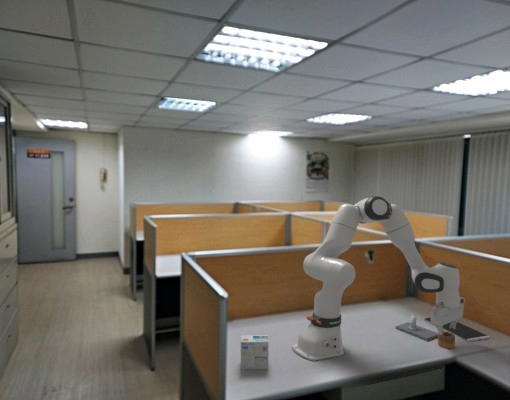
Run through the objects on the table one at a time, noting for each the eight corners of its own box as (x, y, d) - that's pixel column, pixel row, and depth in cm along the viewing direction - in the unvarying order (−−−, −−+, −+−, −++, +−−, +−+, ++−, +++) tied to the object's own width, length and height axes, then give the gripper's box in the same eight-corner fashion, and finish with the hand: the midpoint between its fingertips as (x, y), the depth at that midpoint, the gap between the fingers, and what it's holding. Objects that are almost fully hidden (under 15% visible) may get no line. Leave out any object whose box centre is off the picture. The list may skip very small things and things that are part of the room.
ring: (449, 350, 150) (449, 338, 150) (435, 344, 155) (435, 333, 155) (456, 346, 153) (457, 335, 153) (443, 341, 158) (443, 330, 158)
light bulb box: (267, 360, 140) (267, 334, 139) (268, 369, 133) (269, 341, 132) (240, 361, 139) (240, 334, 139) (240, 370, 133) (240, 341, 132)
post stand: (426, 341, 158) (427, 325, 158) (395, 328, 172) (396, 314, 171) (439, 336, 164) (439, 320, 163) (408, 324, 177) (408, 310, 177)
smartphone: (468, 343, 158) (468, 340, 158) (422, 320, 184) (422, 317, 183) (490, 340, 162) (490, 336, 162) (443, 318, 188) (443, 314, 187)
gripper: (441, 307, 145) (440, 340, 146) (466, 298, 157) (465, 328, 157) (426, 303, 151) (426, 334, 151) (452, 294, 162) (451, 324, 163)
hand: (446, 331), depth 154 cm, fingers open, 8 cm apart
